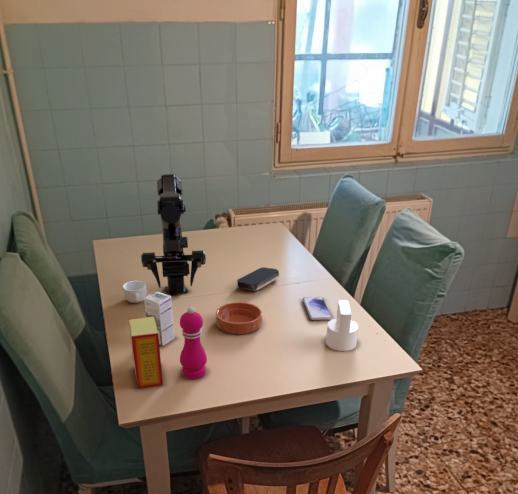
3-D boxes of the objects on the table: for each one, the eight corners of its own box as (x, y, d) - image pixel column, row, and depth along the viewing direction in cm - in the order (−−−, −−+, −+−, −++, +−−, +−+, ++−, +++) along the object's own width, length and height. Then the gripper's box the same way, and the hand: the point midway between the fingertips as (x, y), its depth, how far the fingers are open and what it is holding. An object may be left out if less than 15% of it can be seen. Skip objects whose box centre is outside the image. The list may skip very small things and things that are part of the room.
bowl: (209, 318, 180) (208, 307, 178) (248, 309, 186) (248, 298, 184) (228, 339, 170) (228, 327, 168) (269, 328, 176) (270, 317, 173)
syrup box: (175, 338, 170) (172, 294, 162) (162, 347, 165) (158, 302, 158) (160, 333, 172) (157, 289, 165) (147, 341, 168) (143, 297, 160)
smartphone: (322, 296, 193) (332, 317, 180) (322, 299, 193) (332, 320, 181) (302, 297, 192) (310, 318, 179) (301, 299, 193) (310, 320, 180)
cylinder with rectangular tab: (324, 334, 173) (327, 299, 167) (354, 335, 173) (358, 300, 166) (326, 350, 165) (330, 314, 159) (357, 351, 165) (362, 315, 159)
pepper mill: (196, 383, 150) (193, 317, 140) (175, 374, 153) (170, 309, 143) (212, 370, 155) (210, 305, 145) (191, 362, 159) (188, 298, 148)
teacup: (123, 296, 193) (121, 282, 190) (145, 293, 195) (144, 279, 192) (126, 309, 185) (124, 294, 182) (150, 306, 187) (148, 291, 184)
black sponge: (254, 295, 195) (254, 285, 193) (234, 288, 199) (234, 278, 198) (281, 279, 207) (281, 270, 205) (262, 273, 211) (262, 264, 209)
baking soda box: (134, 368, 155) (128, 317, 147) (158, 365, 157) (153, 314, 149) (137, 388, 148) (131, 335, 139) (162, 385, 149) (158, 332, 141)
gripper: (138, 227, 161) (141, 280, 158) (204, 225, 163) (208, 277, 161) (141, 241, 172) (144, 291, 169) (203, 238, 174) (206, 287, 172)
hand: (175, 286), depth 168 cm, fingers open, 9 cm apart
